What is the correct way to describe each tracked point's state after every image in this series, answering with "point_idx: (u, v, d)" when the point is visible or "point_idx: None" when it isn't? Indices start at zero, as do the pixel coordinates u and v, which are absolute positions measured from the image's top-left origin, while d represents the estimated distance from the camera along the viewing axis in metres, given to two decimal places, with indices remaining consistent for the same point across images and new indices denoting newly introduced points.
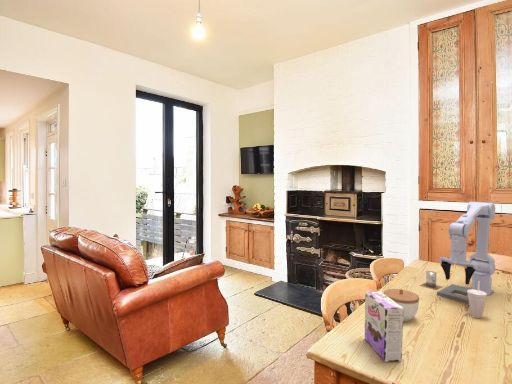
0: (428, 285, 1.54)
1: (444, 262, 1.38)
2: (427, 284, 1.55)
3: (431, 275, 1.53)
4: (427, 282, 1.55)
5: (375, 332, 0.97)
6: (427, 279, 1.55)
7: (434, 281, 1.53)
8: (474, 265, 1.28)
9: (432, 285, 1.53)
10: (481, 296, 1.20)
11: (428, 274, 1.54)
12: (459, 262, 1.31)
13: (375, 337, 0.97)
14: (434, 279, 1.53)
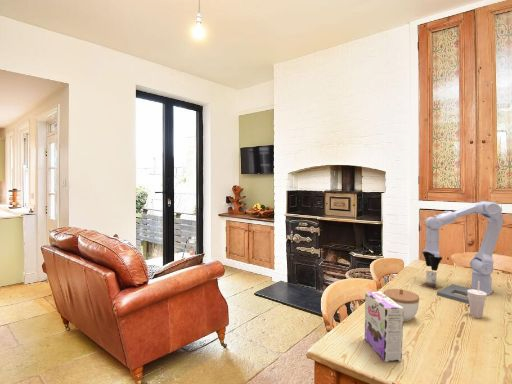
0: (428, 285, 1.54)
1: None
2: (427, 284, 1.55)
3: (431, 275, 1.53)
4: (427, 282, 1.55)
5: (375, 332, 0.97)
6: (427, 279, 1.55)
7: (434, 281, 1.53)
8: (434, 253, 1.48)
9: (432, 285, 1.53)
10: (481, 296, 1.20)
11: (428, 274, 1.54)
12: (427, 250, 1.53)
13: (375, 337, 0.97)
14: (434, 279, 1.53)
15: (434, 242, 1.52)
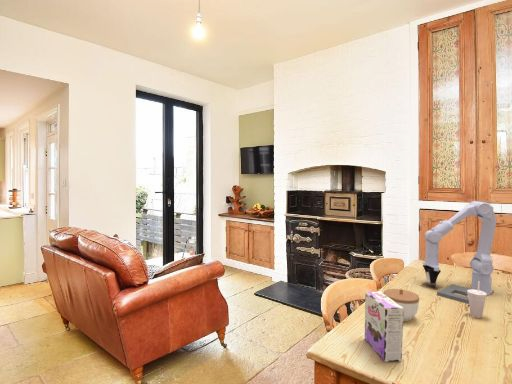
0: (428, 285, 1.54)
1: None
2: (427, 284, 1.55)
3: None
4: (427, 282, 1.55)
5: (375, 332, 0.97)
6: (427, 279, 1.55)
7: None
8: (434, 267, 1.49)
9: (432, 285, 1.53)
10: (481, 296, 1.20)
11: (428, 274, 1.54)
12: (427, 263, 1.54)
13: (375, 337, 0.97)
14: None
15: (434, 256, 1.52)
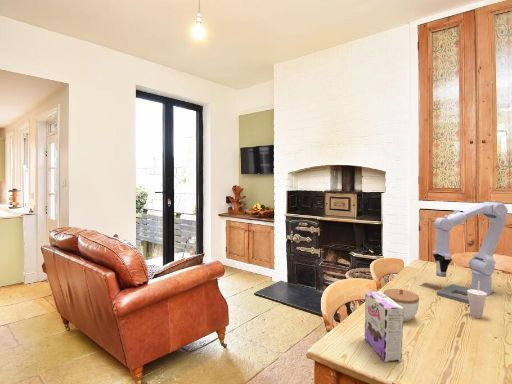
0: (438, 275, 1.49)
1: None
2: (437, 273, 1.50)
3: None
4: (437, 271, 1.50)
5: (375, 332, 0.97)
6: (437, 268, 1.50)
7: None
8: (445, 255, 1.43)
9: (442, 274, 1.48)
10: (481, 296, 1.20)
11: (438, 263, 1.49)
12: (437, 252, 1.49)
13: (375, 337, 0.97)
14: None
15: (444, 244, 1.47)
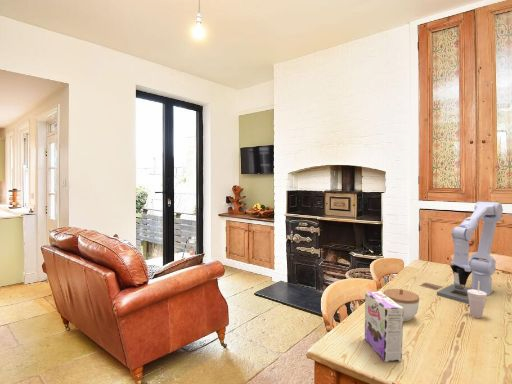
0: (456, 287, 1.41)
1: None
2: (455, 286, 1.41)
3: None
4: (455, 284, 1.41)
5: (375, 332, 0.97)
6: (455, 280, 1.41)
7: None
8: (464, 267, 1.35)
9: (460, 287, 1.40)
10: (481, 296, 1.20)
11: (456, 275, 1.41)
12: (456, 263, 1.40)
13: (375, 337, 0.97)
14: None
15: (464, 255, 1.38)
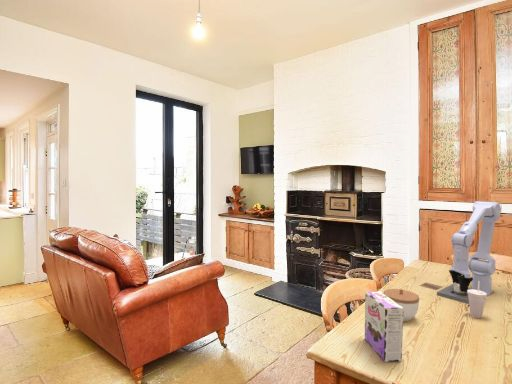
0: None
1: None
2: None
3: (459, 286, 1.40)
4: None
5: (375, 332, 0.97)
6: (454, 291, 1.42)
7: (462, 293, 1.40)
8: (464, 274, 1.35)
9: None
10: (481, 296, 1.20)
11: (456, 285, 1.41)
12: (455, 269, 1.40)
13: (375, 337, 0.97)
14: None
15: (463, 261, 1.38)
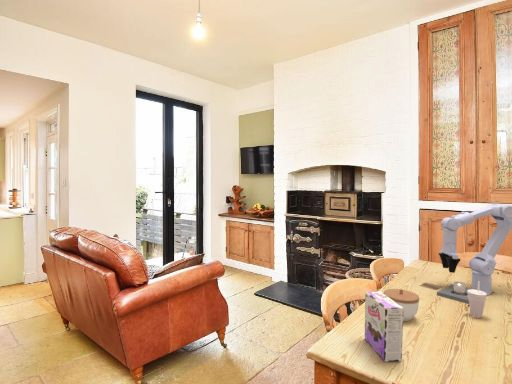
0: None
1: (443, 252, 1.55)
2: None
3: (459, 286, 1.40)
4: None
5: (375, 332, 0.97)
6: (454, 291, 1.42)
7: (462, 293, 1.40)
8: (452, 255, 1.44)
9: None
10: (481, 296, 1.20)
11: (456, 285, 1.41)
12: (444, 252, 1.49)
13: (375, 337, 0.97)
14: (462, 291, 1.40)
15: (452, 243, 1.47)
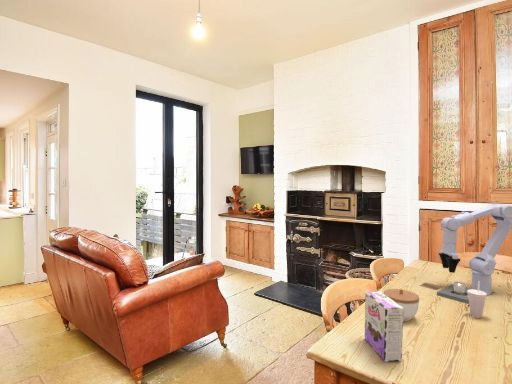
0: None
1: (443, 252, 1.55)
2: None
3: (459, 286, 1.40)
4: None
5: (375, 332, 0.97)
6: (454, 291, 1.42)
7: (462, 293, 1.40)
8: (452, 255, 1.44)
9: None
10: (481, 296, 1.20)
11: (456, 285, 1.41)
12: (444, 252, 1.49)
13: (375, 337, 0.97)
14: (462, 291, 1.40)
15: (452, 243, 1.47)
